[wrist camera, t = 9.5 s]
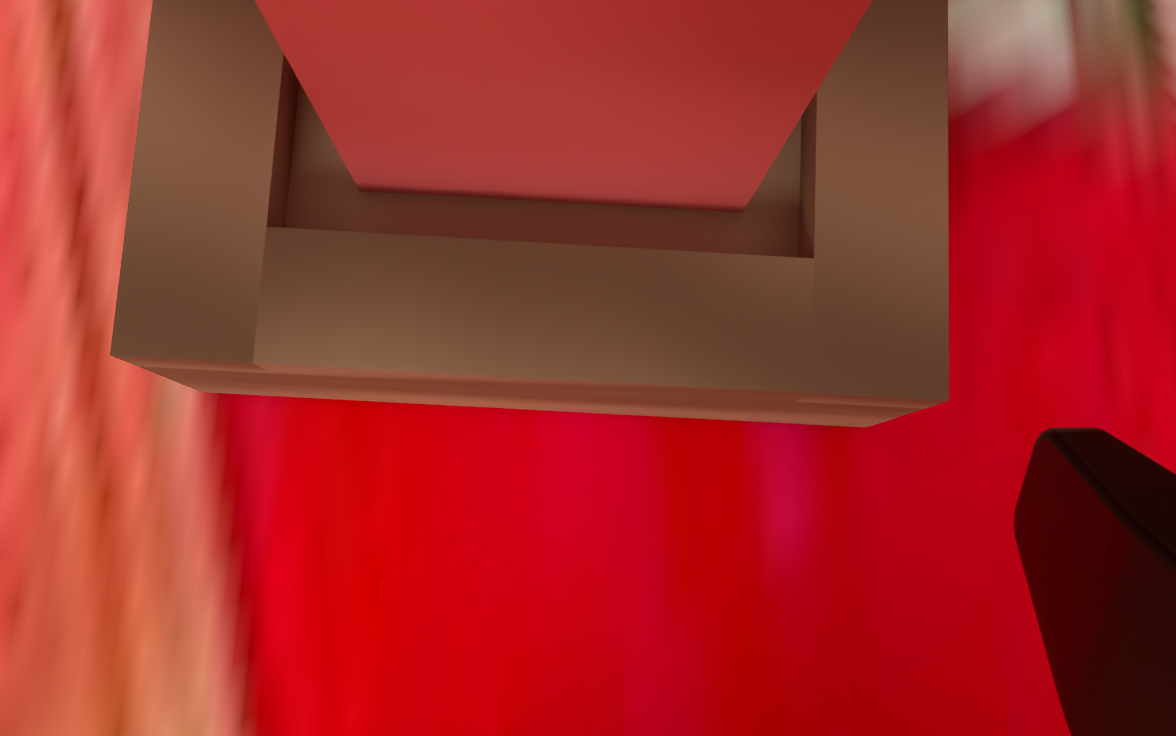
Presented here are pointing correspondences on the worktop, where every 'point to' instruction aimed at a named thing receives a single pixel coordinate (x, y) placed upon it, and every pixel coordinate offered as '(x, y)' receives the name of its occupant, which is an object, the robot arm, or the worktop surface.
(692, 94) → the red brick
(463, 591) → the worktop surface
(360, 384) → the walnut base
